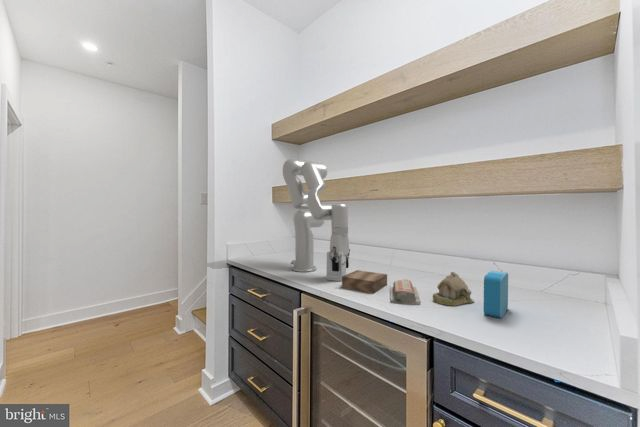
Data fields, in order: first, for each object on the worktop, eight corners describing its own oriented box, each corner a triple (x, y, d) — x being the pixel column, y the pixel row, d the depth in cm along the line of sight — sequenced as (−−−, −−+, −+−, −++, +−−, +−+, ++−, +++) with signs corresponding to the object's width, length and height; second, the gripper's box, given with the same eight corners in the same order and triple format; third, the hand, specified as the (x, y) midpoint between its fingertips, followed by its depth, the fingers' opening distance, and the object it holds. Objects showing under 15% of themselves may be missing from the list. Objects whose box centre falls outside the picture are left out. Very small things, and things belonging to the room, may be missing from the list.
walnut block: (341, 288, 112) (342, 276, 111) (357, 281, 123) (357, 270, 123) (374, 294, 104) (374, 281, 104) (387, 286, 115) (387, 274, 115)
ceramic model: (447, 293, 105) (447, 267, 105) (478, 301, 96) (478, 272, 96) (426, 300, 97) (427, 272, 96) (458, 309, 88) (458, 278, 87)
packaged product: (421, 292, 91) (390, 290, 94) (421, 306, 91) (390, 304, 94) (416, 278, 109) (390, 277, 111) (416, 290, 109) (390, 289, 111)
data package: (491, 305, 91) (492, 269, 91) (508, 308, 88) (508, 271, 88) (483, 315, 82) (483, 276, 82) (500, 319, 79) (501, 278, 79)
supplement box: (341, 281, 121) (341, 253, 120) (326, 280, 123) (326, 252, 123) (346, 277, 127) (346, 250, 127) (331, 276, 130) (331, 250, 130)
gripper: (342, 229, 134) (343, 265, 134) (322, 232, 120) (322, 272, 119) (356, 230, 129) (356, 267, 129) (336, 232, 115) (337, 273, 115)
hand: (340, 269), depth 124 cm, fingers closed on supplement box, 8 cm apart
